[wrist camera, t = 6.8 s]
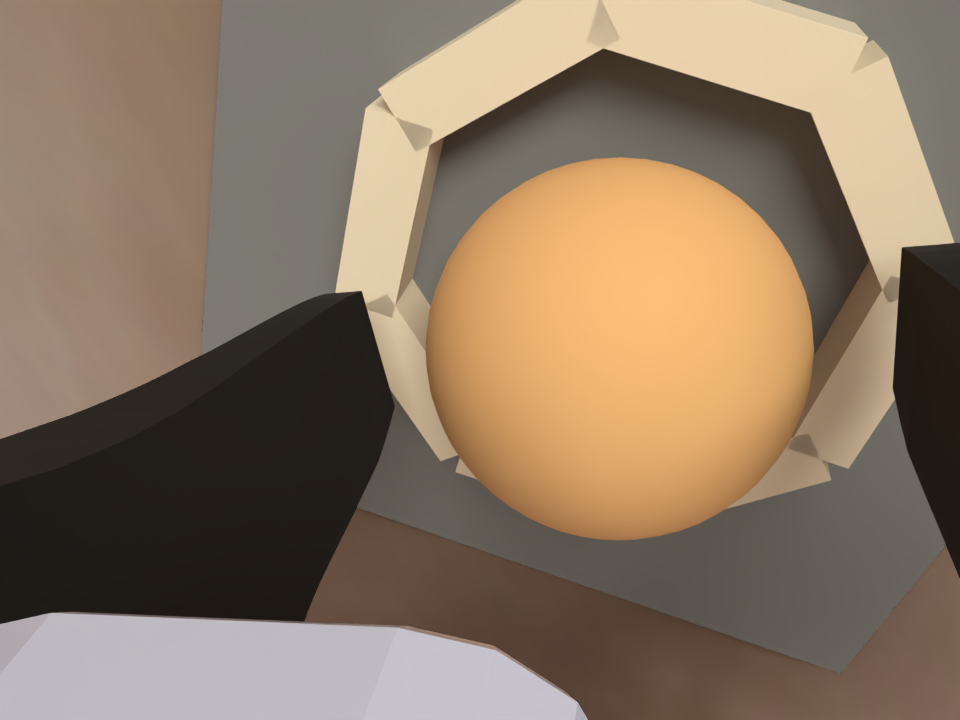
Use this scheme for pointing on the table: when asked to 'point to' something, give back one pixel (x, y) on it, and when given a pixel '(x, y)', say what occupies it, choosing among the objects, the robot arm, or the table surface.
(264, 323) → the robot arm
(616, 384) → the ball
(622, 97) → the cradle
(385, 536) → the table surface
